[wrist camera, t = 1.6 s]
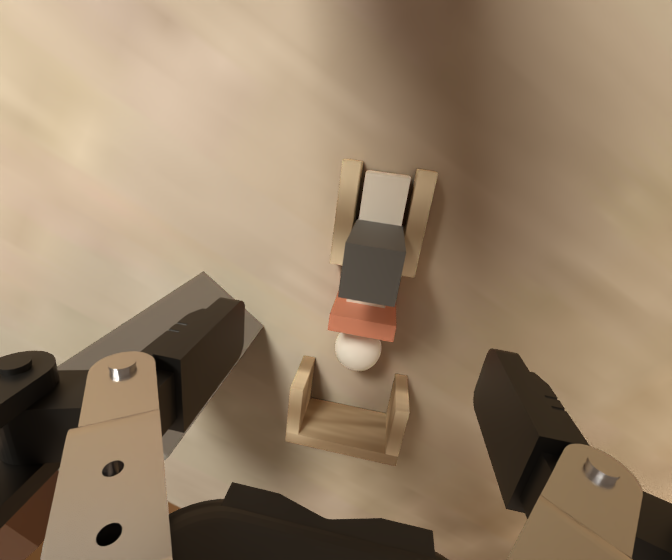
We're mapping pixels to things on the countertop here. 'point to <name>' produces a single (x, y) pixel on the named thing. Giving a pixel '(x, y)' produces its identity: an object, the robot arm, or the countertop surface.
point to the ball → (357, 351)
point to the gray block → (373, 261)
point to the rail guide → (414, 220)
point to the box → (346, 421)
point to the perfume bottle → (134, 335)
